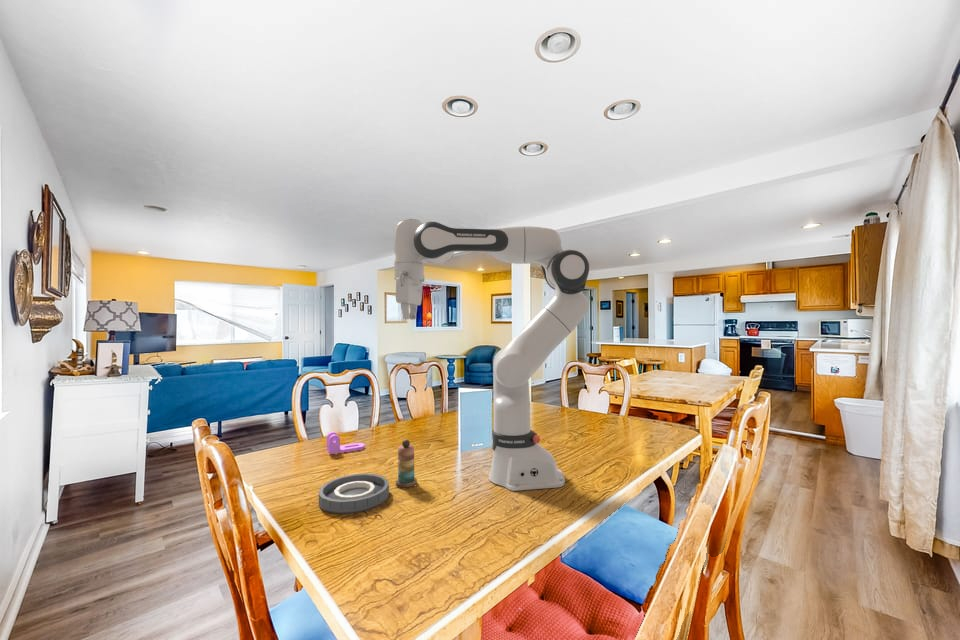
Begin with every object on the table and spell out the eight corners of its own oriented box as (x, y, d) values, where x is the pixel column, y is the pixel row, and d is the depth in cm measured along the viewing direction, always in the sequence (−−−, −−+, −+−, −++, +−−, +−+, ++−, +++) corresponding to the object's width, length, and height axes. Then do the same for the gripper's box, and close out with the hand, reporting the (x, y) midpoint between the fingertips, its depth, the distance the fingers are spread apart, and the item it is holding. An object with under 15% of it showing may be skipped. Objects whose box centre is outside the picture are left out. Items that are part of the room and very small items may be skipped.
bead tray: (396, 484, 115) (396, 473, 115) (377, 514, 97) (377, 502, 97) (335, 483, 116) (335, 473, 116) (305, 513, 98) (305, 501, 98)
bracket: (329, 455, 140) (328, 436, 140) (326, 451, 145) (326, 432, 145) (366, 449, 147) (366, 431, 147) (362, 445, 151) (362, 427, 151)
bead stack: (418, 480, 118) (418, 436, 118) (414, 488, 112) (414, 443, 112) (398, 479, 118) (398, 436, 118) (393, 488, 112) (393, 443, 112)
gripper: (412, 269, 109) (412, 319, 109) (425, 277, 130) (425, 319, 130) (389, 269, 110) (390, 319, 110) (406, 277, 130) (406, 319, 130)
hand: (409, 319), depth 120 cm, fingers open, 8 cm apart
